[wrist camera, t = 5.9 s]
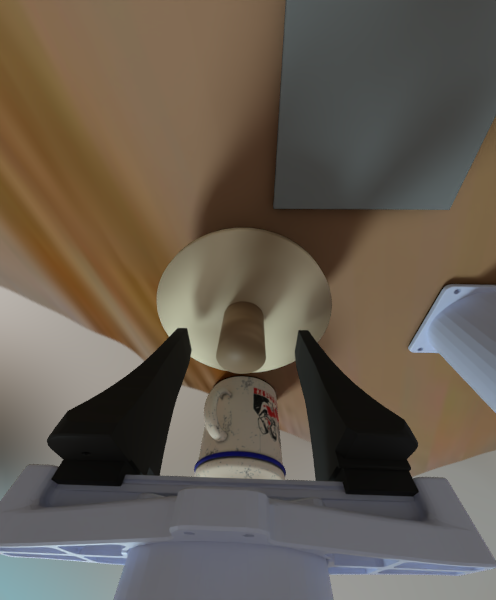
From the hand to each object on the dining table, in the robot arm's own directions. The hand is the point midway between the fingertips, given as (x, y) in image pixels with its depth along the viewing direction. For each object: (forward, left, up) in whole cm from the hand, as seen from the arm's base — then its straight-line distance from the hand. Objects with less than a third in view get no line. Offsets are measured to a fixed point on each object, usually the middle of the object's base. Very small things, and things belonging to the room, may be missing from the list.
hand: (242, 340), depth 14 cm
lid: (0, -1, -2) cm, 2 cm away
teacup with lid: (+1, +15, -7) cm, 16 cm away
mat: (-8, -13, -6) cm, 17 cm away
